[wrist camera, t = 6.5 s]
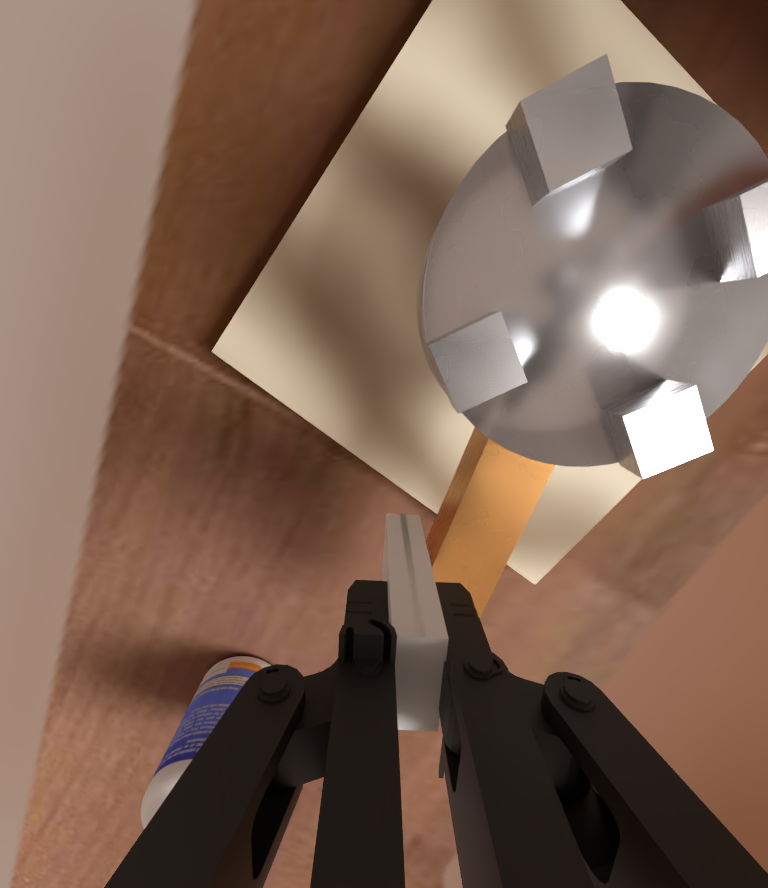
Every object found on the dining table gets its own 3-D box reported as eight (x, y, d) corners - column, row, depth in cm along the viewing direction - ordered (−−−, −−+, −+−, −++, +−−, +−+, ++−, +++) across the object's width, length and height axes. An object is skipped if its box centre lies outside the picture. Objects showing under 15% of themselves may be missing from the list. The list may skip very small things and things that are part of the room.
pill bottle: (187, 690, 26) (74, 895, 17) (237, 637, 25) (146, 825, 15) (256, 733, 27) (187, 951, 18) (307, 684, 26) (262, 889, 16)
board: (497, -80, 16) (547, -262, 11) (825, 265, 19) (975, 245, 14) (224, 349, 20) (172, 357, 15) (526, 568, 23) (561, 631, 18)
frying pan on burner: (484, 83, 13) (530, -31, 9) (766, 204, 13) (929, 152, 9) (295, 623, 18) (269, 709, 14) (503, 685, 19) (534, 782, 15)
